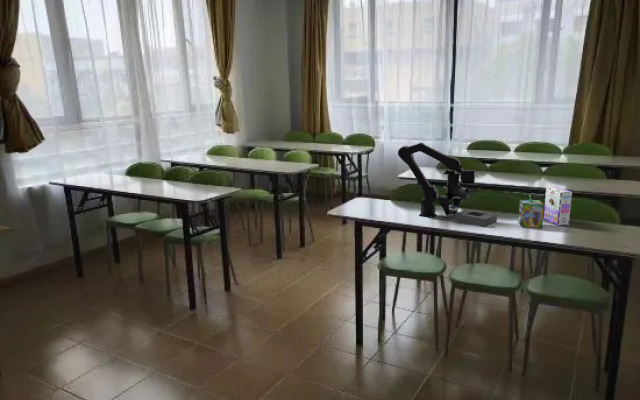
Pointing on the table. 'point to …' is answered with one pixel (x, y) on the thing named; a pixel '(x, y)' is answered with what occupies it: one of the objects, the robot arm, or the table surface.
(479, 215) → the camera body
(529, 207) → the chalk box
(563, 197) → the candy box
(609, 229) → the table surface
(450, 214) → the lens
